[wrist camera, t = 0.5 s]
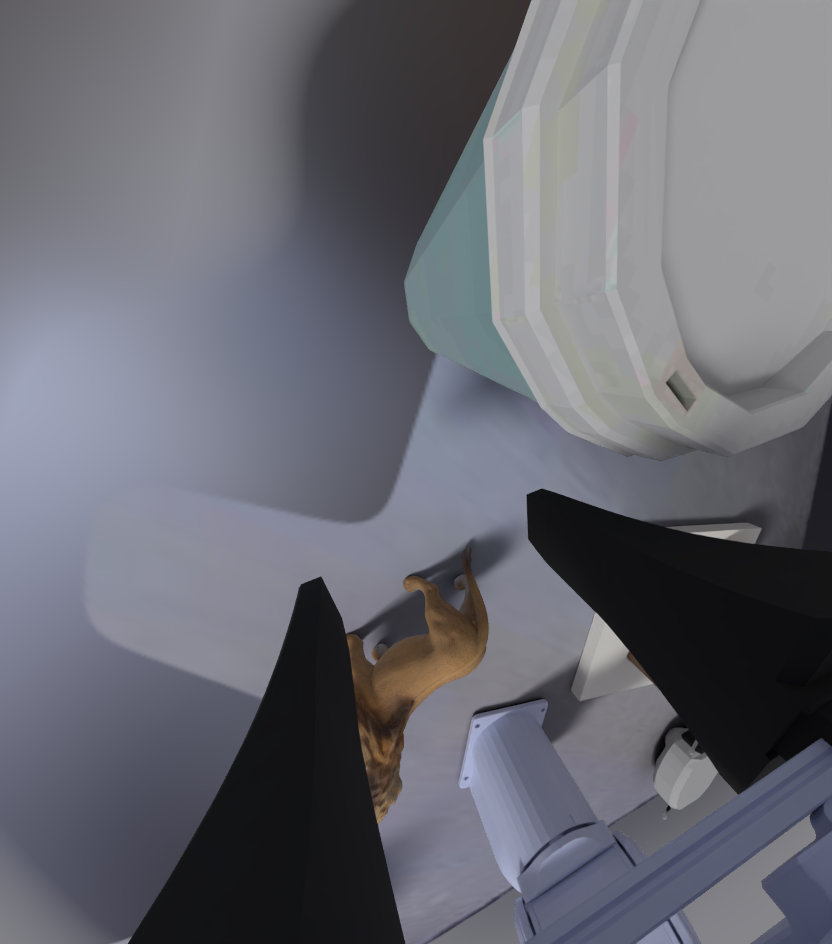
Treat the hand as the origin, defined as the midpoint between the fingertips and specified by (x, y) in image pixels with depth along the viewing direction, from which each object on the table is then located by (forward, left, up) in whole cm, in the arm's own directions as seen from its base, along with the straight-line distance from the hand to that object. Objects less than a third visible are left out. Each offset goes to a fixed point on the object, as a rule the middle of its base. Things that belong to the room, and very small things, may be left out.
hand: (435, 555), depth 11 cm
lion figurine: (-12, -2, -11) cm, 16 cm away
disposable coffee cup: (+10, -4, -11) cm, 15 cm away
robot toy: (-37, -44, -11) cm, 59 cm away
